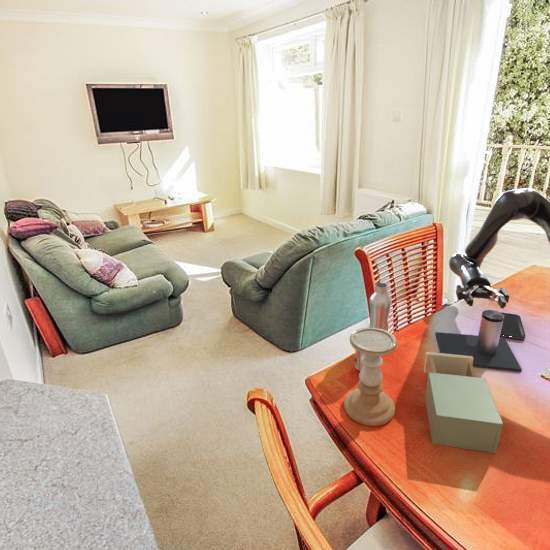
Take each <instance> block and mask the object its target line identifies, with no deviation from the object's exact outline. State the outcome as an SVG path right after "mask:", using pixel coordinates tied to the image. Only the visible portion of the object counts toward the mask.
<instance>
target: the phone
mask: <svg viewBox="0 0 550 550" xmlns="http://www.w3.org/2000/svg"><path fill="white" fill-rule="evenodd" d="M499 312H500V313H502V314H503V315H504V320H503V325H502V329H501V334H500V336H501V337H500V338H506V337H509V336H512V337H509V338H508V339H512V338H517V339H516V340H518V339H525V340H526V332H525V329H524V328H525V327H524V325H523V322H522V318H521V316H520V315H519V314H515V313H509V312H502V311H499ZM503 335H504V336H503Z"/></svg>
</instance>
